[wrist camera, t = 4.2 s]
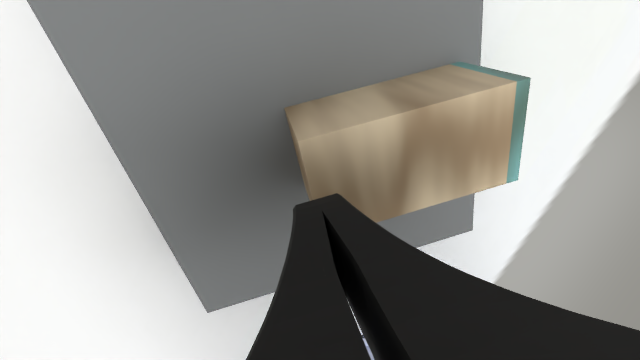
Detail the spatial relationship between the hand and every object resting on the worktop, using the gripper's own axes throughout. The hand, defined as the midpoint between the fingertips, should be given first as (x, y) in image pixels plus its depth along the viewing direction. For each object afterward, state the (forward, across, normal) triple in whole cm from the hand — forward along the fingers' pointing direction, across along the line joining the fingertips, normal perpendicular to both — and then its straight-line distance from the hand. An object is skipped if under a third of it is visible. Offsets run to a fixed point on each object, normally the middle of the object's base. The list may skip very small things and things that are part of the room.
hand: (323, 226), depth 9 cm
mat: (+6, -1, 0) cm, 6 cm away
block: (+4, 0, 0) cm, 4 cm away
